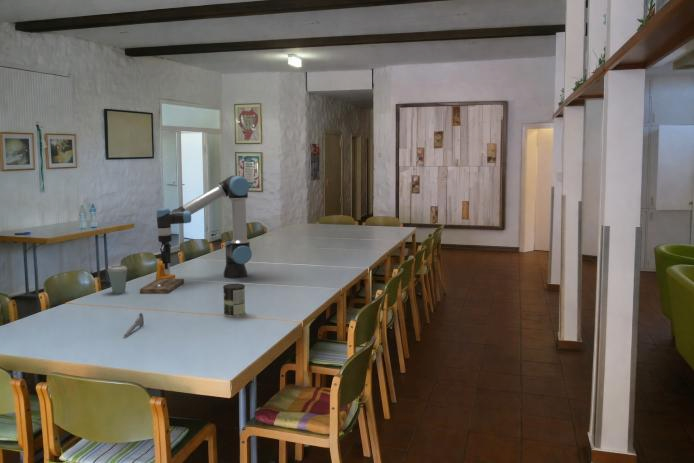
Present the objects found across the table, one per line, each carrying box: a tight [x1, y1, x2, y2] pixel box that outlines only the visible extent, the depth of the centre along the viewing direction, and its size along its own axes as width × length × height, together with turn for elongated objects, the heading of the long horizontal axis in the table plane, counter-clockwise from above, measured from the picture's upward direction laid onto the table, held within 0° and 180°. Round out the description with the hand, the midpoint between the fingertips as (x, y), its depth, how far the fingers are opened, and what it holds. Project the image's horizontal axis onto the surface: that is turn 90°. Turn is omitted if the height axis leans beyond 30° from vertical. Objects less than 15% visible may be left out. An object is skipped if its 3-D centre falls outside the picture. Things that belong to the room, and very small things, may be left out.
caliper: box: [122, 312, 145, 339], centre depth 262 cm, size 20×1×6 cm, turn 178°
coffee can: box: [222, 283, 246, 318], centre depth 290 cm, size 10×10×14 cm
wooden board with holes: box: [139, 278, 185, 295], centre depth 352 cm, size 16×30×2 cm, turn 179°
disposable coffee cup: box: [107, 264, 128, 295], centre depth 339 cm, size 11×11×15 cm
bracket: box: [155, 260, 176, 280], centre depth 375 cm, size 11×7×12 cm, turn 162°
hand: (167, 274), depth 356 cm, fingers closed
